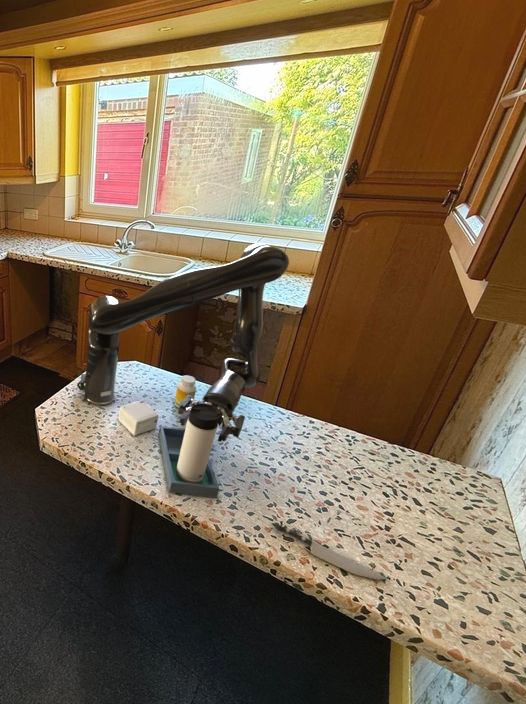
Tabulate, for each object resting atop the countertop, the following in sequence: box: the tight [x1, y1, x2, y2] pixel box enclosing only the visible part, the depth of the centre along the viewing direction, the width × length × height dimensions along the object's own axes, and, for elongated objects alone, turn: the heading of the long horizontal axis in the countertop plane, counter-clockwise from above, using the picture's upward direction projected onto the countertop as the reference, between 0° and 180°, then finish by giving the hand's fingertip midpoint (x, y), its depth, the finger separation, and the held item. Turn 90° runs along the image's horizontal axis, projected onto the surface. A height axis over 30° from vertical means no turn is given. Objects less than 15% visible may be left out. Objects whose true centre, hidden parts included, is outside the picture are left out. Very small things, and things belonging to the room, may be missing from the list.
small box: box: [118, 400, 159, 436], centre depth 114 cm, size 8×8×5 cm
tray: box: [157, 425, 220, 499], centre depth 101 cm, size 11×20×3 cm, turn 171°
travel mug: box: [176, 404, 222, 484], centre depth 93 cm, size 6×7×20 cm
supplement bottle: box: [173, 374, 197, 409], centre depth 121 cm, size 5×5×10 cm
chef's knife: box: [273, 523, 388, 580], centre depth 79 cm, size 19×1×3 cm
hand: (200, 430), depth 92 cm, fingers open, 8 cm apart
